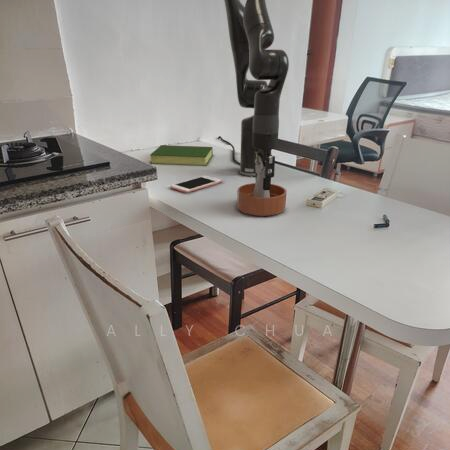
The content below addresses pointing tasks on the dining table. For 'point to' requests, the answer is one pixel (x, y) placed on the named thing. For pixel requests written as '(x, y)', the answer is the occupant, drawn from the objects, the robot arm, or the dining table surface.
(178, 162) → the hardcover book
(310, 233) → the dining table surface
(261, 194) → the salt shaker
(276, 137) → the robot arm
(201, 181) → the cell phone
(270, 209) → the bowl
